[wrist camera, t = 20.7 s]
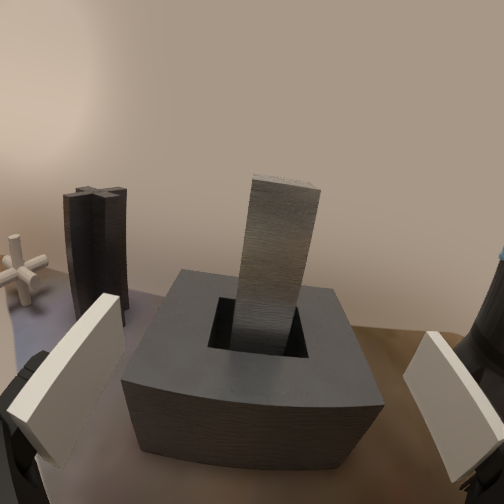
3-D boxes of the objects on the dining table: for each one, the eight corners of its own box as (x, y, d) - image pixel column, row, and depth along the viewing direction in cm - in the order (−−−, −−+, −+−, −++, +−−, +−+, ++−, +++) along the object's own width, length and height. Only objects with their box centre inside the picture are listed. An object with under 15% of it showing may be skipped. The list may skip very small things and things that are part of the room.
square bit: (264, 386, 27) (309, 182, 20) (265, 415, 23) (320, 190, 16) (225, 381, 27) (253, 173, 20) (221, 411, 23) (252, 179, 16)
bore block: (312, 353, 33) (333, 289, 29) (337, 467, 18) (385, 404, 14) (180, 337, 32) (181, 269, 29) (140, 450, 17) (120, 379, 14)
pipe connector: (35, 280, 36) (27, 221, 33) (68, 301, 34) (59, 233, 30) (-11, 303, 27) (-25, 238, 24) (15, 332, 24) (-4, 257, 21)
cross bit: (142, 317, 34) (141, 192, 29) (95, 340, 28) (80, 201, 22) (110, 294, 38) (107, 184, 32) (67, 312, 31) (54, 191, 26)
